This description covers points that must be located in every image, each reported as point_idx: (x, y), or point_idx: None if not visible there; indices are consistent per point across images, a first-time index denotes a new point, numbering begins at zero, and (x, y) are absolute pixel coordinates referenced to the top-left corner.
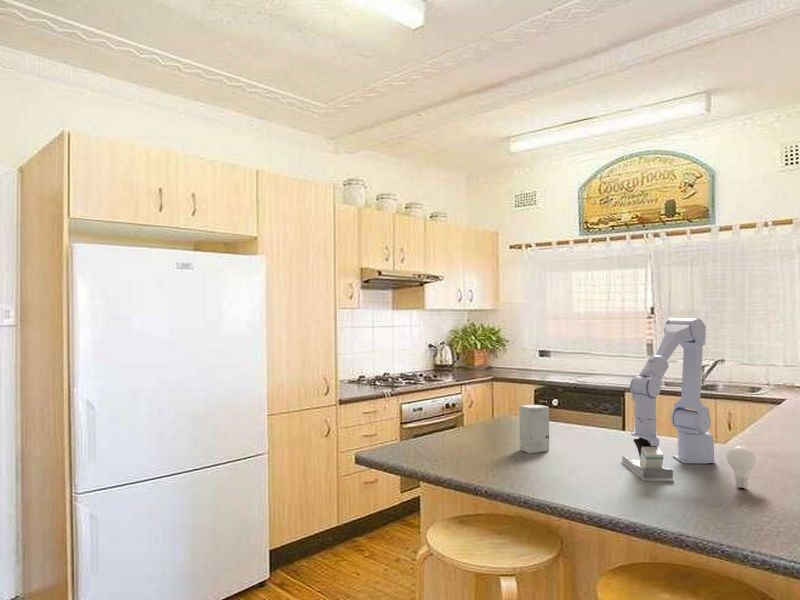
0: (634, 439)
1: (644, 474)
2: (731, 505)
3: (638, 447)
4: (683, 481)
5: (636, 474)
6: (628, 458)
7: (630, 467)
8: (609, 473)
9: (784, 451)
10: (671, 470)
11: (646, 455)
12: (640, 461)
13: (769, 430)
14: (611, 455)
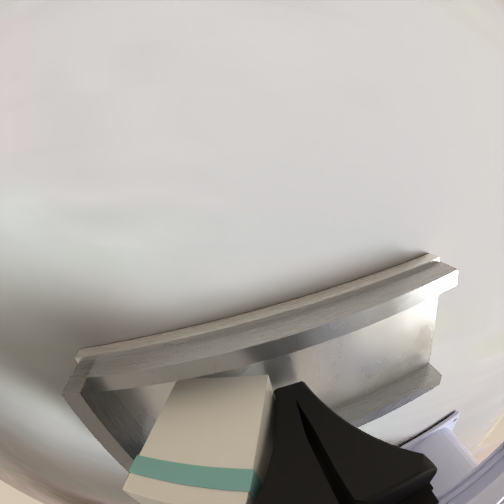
0: (418, 479)
1: (74, 374)
2: (30, 473)
3: (332, 464)
4: None
5: (184, 329)
6: (400, 308)
7: (296, 306)
8: (161, 150)
9: None
10: None
11: (133, 480)
12: (254, 400)
13: None
14: (500, 215)
